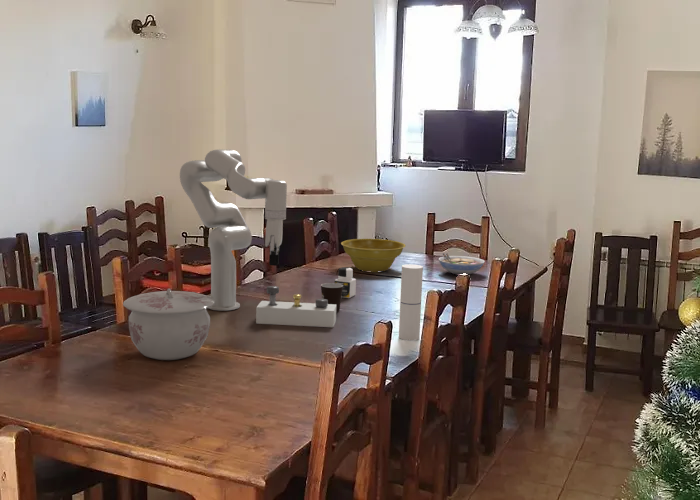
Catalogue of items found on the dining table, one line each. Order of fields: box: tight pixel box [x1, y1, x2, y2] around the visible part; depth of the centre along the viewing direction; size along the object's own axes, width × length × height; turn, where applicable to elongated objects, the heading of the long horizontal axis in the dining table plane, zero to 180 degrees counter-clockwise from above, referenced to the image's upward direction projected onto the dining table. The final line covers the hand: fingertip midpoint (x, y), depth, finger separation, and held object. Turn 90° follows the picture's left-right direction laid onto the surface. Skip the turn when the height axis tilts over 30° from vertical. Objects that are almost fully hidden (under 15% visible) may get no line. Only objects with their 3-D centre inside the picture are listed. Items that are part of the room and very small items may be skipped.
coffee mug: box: [320, 282, 343, 313], centre depth 297 cm, size 12×9×10 cm
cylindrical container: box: [398, 263, 424, 341], centre depth 260 cm, size 7×7×25 cm
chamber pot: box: [122, 288, 215, 361], centre depth 234 cm, size 28×28×21 cm
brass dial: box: [292, 293, 302, 307], centre depth 276 cm, size 3×3×5 cm
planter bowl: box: [340, 238, 406, 273], centre depth 379 cm, size 32×32×13 cm
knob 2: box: [315, 298, 328, 308], centre depth 276 cm, size 4×4×8 cm
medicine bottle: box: [333, 266, 357, 299], centre depth 321 cm, size 7×7×12 cm
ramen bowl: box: [438, 253, 486, 275], centre depth 376 cm, size 25×23×8 cm
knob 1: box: [266, 285, 280, 306], centre depth 277 cm, size 4×4×8 cm
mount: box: [255, 300, 337, 328], centre depth 277 cm, size 28×10×6 cm, turn 86°
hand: (273, 264), depth 275 cm, fingers closed
